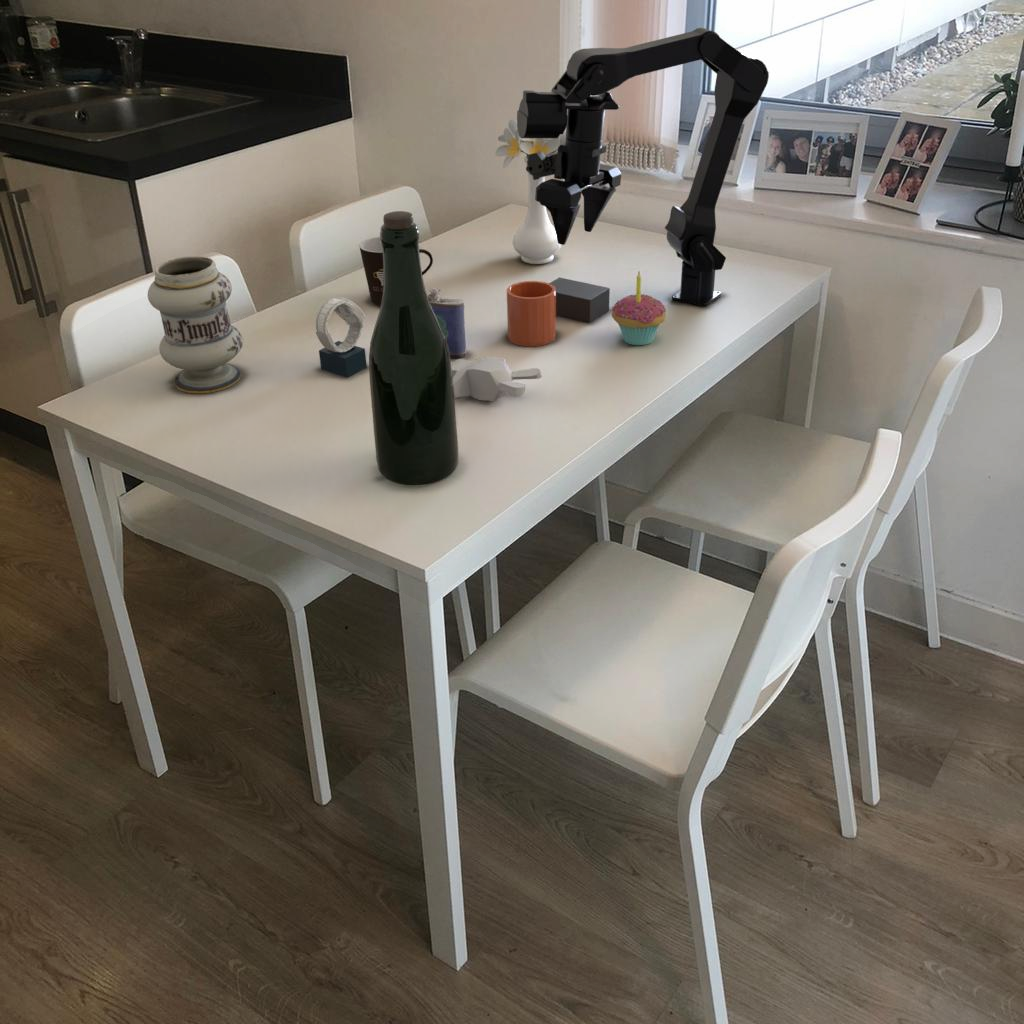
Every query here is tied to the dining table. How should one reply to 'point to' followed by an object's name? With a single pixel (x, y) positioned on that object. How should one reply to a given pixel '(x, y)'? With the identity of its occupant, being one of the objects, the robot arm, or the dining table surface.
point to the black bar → (580, 299)
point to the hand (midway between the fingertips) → (574, 237)
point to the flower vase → (532, 197)
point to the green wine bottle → (410, 368)
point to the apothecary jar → (196, 323)
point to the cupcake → (638, 316)
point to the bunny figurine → (489, 378)
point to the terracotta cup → (531, 313)
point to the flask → (450, 321)
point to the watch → (340, 354)
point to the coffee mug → (378, 267)
